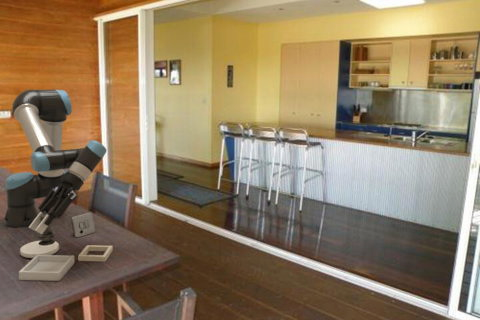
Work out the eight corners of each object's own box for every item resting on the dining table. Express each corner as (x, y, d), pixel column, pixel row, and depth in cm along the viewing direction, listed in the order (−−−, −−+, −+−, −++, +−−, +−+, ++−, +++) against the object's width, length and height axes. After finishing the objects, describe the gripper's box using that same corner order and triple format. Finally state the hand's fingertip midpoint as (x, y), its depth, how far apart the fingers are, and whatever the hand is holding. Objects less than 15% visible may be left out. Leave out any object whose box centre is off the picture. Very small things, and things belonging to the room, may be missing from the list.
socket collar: (87, 249, 169) (87, 245, 169) (112, 250, 170) (112, 245, 169) (78, 260, 159) (78, 256, 159) (105, 261, 160) (105, 256, 159)
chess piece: (41, 239, 151) (39, 208, 148) (58, 239, 151) (56, 208, 149) (34, 246, 145) (32, 213, 142) (52, 245, 145) (50, 213, 143)
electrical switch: (76, 238, 181) (74, 217, 179) (70, 236, 184) (68, 216, 182) (95, 232, 188) (93, 213, 186) (89, 230, 191) (87, 211, 190)
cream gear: (22, 247, 170) (22, 242, 169) (59, 244, 175) (59, 238, 174) (18, 262, 157) (18, 256, 156) (58, 257, 162) (58, 251, 161)
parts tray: (37, 262, 157) (37, 254, 156) (74, 262, 157) (74, 255, 157) (19, 279, 143) (18, 272, 143) (59, 280, 144) (59, 272, 143)
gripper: (95, 186, 152) (55, 241, 142) (69, 178, 161) (30, 230, 151) (82, 174, 146) (40, 231, 136) (56, 167, 156) (15, 220, 146)
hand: (35, 230), depth 144 cm, fingers closed on chess piece, 4 cm apart
